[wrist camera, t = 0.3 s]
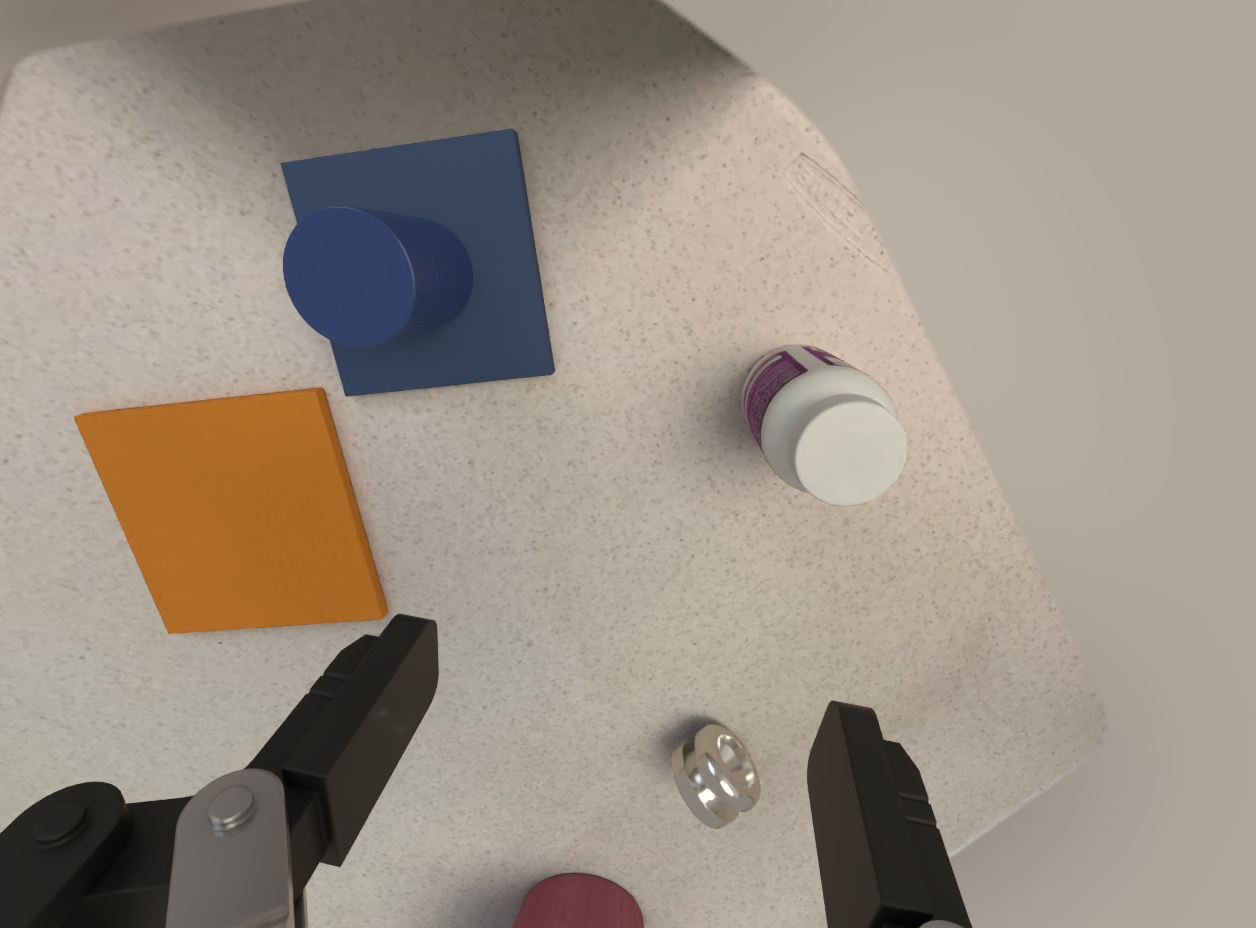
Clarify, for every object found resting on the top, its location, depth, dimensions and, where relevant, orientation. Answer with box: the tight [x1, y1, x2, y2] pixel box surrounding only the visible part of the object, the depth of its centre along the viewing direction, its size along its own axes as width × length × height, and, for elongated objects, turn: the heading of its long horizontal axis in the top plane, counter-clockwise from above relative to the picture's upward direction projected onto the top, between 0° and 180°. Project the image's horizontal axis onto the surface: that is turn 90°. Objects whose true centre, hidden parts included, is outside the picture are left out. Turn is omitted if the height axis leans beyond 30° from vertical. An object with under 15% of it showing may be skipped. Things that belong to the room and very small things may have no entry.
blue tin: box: [283, 206, 473, 347], centre depth 25 cm, size 5×5×7 cm
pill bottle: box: [742, 345, 907, 506], centre depth 25 cm, size 5×5×10 cm
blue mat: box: [281, 129, 555, 396], centre depth 29 cm, size 11×11×1 cm
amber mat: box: [74, 388, 388, 634], centre depth 34 cm, size 14×14×1 cm
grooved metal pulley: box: [671, 724, 761, 829], centre depth 35 cm, size 5×3×5 cm, turn 46°
